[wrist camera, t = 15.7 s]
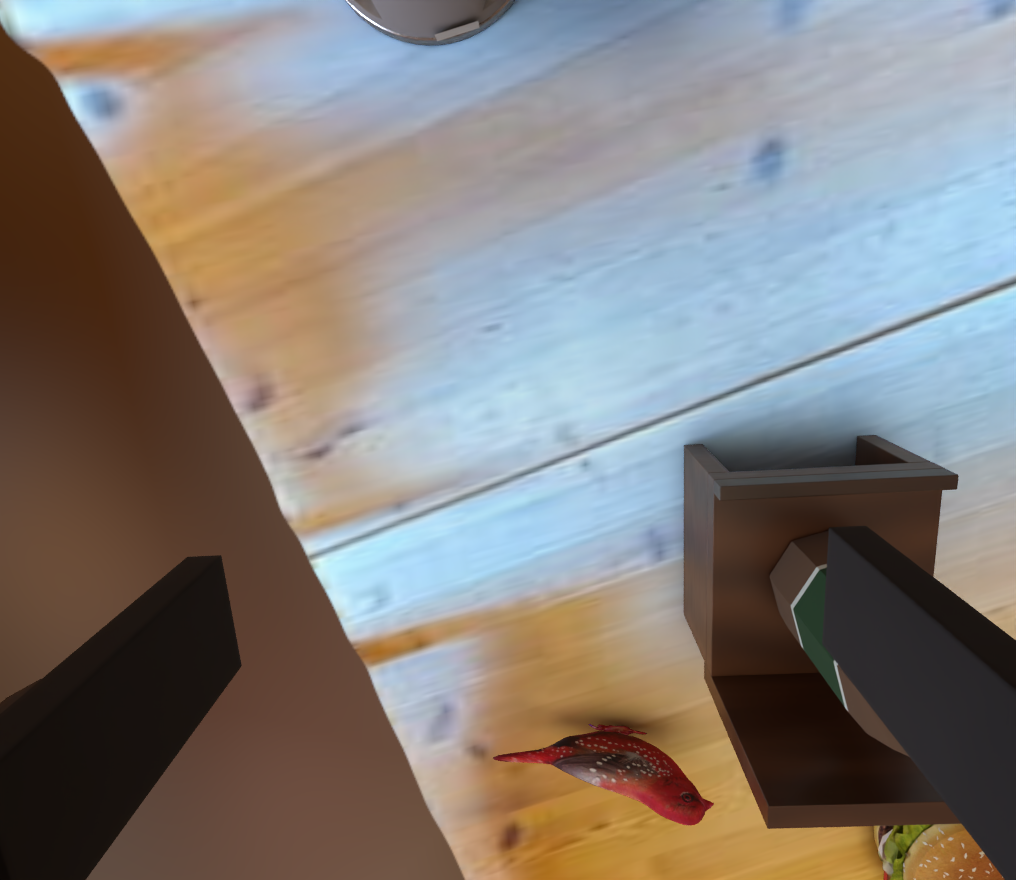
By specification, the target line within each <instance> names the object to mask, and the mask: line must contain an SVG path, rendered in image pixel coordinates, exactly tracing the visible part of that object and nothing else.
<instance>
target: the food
mask: <svg viewBox="0 0 1016 880" xmlns="http://www.w3.org/2000/svg"><path fill="white" fill-rule="evenodd" d="M874 839H875V842H876V845H877V848H878V853H879V857H880V860H881V861H882V862H883V869H884V880H1005V879H1004V878H1003V877H1002V875H1001V874H1000V873H999V872H998V870H997V869H996V868H995V866H994V865H993V864H992V863H991V861H990V860H989V859H988V857H987V856H986V855H985V853H984V852H983V851H982V850H981V848H980V847H979V846H978V844H977V843H976V842H975V841H974V839H973V838H972V837H971V835H970V834H969V833H968V832H967V830H966V829H965V828H964V826H963V825H962V824H933V825H892V826H874Z"/></svg>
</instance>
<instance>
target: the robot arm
mask: <svg viewBox="0 0 1016 880" xmlns="http://www.w3.org/2000/svg"><path fill="white" fill-rule="evenodd" d="M345 1H346V2H347V3H348V4H349V6H350V7H351V8H352V9H353V10H354V11H355V12H356V13H357V14H358V15H359V16H360V17H361V18H362V19H363V20H365V21H366V22H367V23H368V24H370V25H371V26H372V27H374V28H375V29H377V30H379V31H380V32H382V33H384V34H386V35H388V36H390V37H392V38H395V39H397V40H401V41H404V42H407V43H412V44H418V45H443V44H450V43H454V42H458V41H461V40H464V39H467V38H469V37H471V36H474V35H476V34H478V33H480V32H481V31H483V30H484V29H486V28H487V27H489V26H490V25H492V24H493V23H494V22H495V21H497V20H498V19H499V18H500V17H501V16H502V15H503V14H504V13H505V12H506V11H507V10H508V9H509V8H510V7H511V5H512V4H513V3H514V2H515V0H345ZM822 644H823V646H824V647H825V648H826V650H827V651H828V652H829V653H830V655H831V656H832V657H833V659H834V660H835V661H836V663H837V664H838V665H839V666H840V668H841V669H842V670H843V672H844V673H845V674H846V675H847V677H848V678H849V679H850V681H851V682H852V683H853V684H854V686H855V687H856V688H857V690H858V691H859V692H860V693H861V695H862V696H863V697H864V699H865V700H866V701H867V703H868V704H869V705H870V706H871V708H872V709H873V710H874V712H875V713H876V714H877V715H878V717H879V718H880V719H881V721H882V722H883V723H884V724H885V726H886V727H887V728H888V730H889V731H890V732H891V733H892V735H893V736H894V737H895V739H896V740H897V741H898V743H899V744H900V745H901V746H902V748H903V749H904V750H905V752H906V753H907V754H908V755H909V757H910V758H911V759H912V761H913V762H914V763H915V764H916V766H917V767H918V768H919V770H920V771H921V772H922V773H923V775H924V776H925V777H926V779H927V780H928V781H929V783H930V784H931V785H932V786H933V788H934V789H935V790H936V792H937V793H938V794H939V795H940V797H941V798H942V799H943V801H944V802H945V803H946V804H947V806H948V807H949V808H950V810H951V811H952V812H953V813H954V815H955V816H956V817H957V819H958V820H959V821H960V823H961V824H962V825H963V826H964V828H965V829H966V830H967V832H968V833H969V834H970V835H971V837H972V838H973V839H974V841H975V842H976V843H977V844H978V846H979V847H980V848H981V850H982V851H983V852H984V853H985V855H986V856H987V857H988V859H989V860H990V861H991V863H992V864H993V865H994V866H995V868H996V869H997V870H998V872H999V873H1000V874H1001V875H1002V877H1003V878H1004V879H1005V880H1016V640H1014V639H1013V638H1012V637H1011V636H1009V635H1008V634H1007V633H1005V632H1004V631H1003V630H1001V629H1000V628H999V627H998V626H996V625H995V624H994V623H992V622H991V621H990V620H988V619H987V618H986V617H985V616H983V615H982V614H981V613H979V612H978V611H977V610H975V609H974V608H973V607H971V606H970V605H969V604H968V603H966V602H965V601H964V600H962V599H961V598H960V597H958V596H957V595H956V594H955V593H953V592H952V591H951V590H949V589H948V588H947V587H945V586H944V585H943V584H942V583H940V582H939V581H938V580H936V579H935V578H934V577H932V576H931V575H930V574H928V573H927V572H926V571H925V570H923V569H922V568H921V567H919V566H918V565H917V564H915V563H914V562H913V561H912V560H910V559H909V558H908V557H906V556H905V555H904V554H902V553H901V552H900V551H899V550H897V549H896V548H895V547H893V546H892V545H891V544H889V543H888V542H887V541H885V540H884V539H883V538H882V537H880V536H879V535H878V534H876V533H875V532H874V531H872V530H871V529H870V528H869V527H867V526H848V527H829V536H828V553H827V570H826V586H825V603H824V620H823V637H822ZM240 667H241V660H240V655H239V650H238V644H237V639H236V633H235V628H234V623H233V617H232V611H231V607H230V601H229V595H228V590H227V584H226V579H225V573H224V569H223V563H222V557H221V556H198V557H187V558H186V559H184V560H183V561H182V562H181V563H180V564H178V565H177V566H176V567H175V568H174V569H172V570H171V571H170V572H169V573H168V574H167V575H165V576H164V577H163V578H162V579H161V580H159V581H158V582H157V583H156V584H155V585H153V586H152V587H151V588H150V589H149V590H147V591H146V592H145V593H144V594H143V595H141V596H140V597H139V598H138V599H137V600H135V601H134V602H133V603H132V604H131V605H130V606H128V607H127V608H126V609H125V610H124V611H122V612H121V613H120V614H119V615H118V616H116V617H115V618H114V619H113V620H112V621H110V622H109V623H108V624H107V625H106V626H105V627H103V628H102V629H101V630H100V631H99V632H97V633H96V634H95V635H94V636H93V637H91V638H90V639H89V640H88V641H87V642H85V643H84V644H83V645H82V646H81V647H80V648H78V649H77V650H76V651H75V652H74V653H72V654H71V655H70V656H69V657H68V658H66V659H65V660H64V661H63V662H62V663H60V664H59V665H58V666H57V667H56V668H54V669H53V670H52V671H51V672H50V673H48V674H47V675H46V676H45V677H44V678H43V679H40V680H38V681H36V682H34V683H32V684H31V685H29V686H27V687H25V688H24V689H22V690H20V691H18V692H16V693H15V694H13V695H11V696H9V697H7V698H6V699H5V700H4V701H2V702H1V703H0V880H86V878H87V877H88V876H89V874H90V873H91V871H92V870H93V869H94V867H95V866H96V865H97V863H98V862H99V861H100V859H101V858H102V857H103V855H104V854H105V852H106V851H107V850H108V848H109V847H110V846H111V844H112V843H113V841H114V840H115V839H116V837H117V836H118V835H119V833H120V832H121V831H122V829H123V828H124V826H125V825H126V824H127V822H128V821H129V819H130V818H131V817H132V815H133V814H134V813H135V811H136V810H137V809H138V807H139V806H140V804H141V803H142V802H143V800H144V799H145V798H146V796H147V795H148V793H149V792H150V791H151V789H152V788H153V787H154V785H155V784H156V783H157V781H158V780H159V778H160V777H161V776H162V774H163V773H164V772H165V770H166V769H167V767H168V766H169V765H170V763H171V762H172V761H173V759H174V758H175V756H176V755H177V754H178V752H179V751H180V750H181V748H182V747H183V745H184V744H185V743H186V741H187V740H188V738H189V737H190V736H191V734H192V733H193V732H194V730H195V729H196V728H197V726H198V725H199V723H200V722H201V721H202V719H203V718H204V717H205V715H206V714H207V713H208V711H209V710H210V708H211V707H212V706H213V704H214V703H215V702H216V700H217V699H218V697H219V696H220V695H221V693H222V692H223V691H224V689H225V688H226V687H227V685H228V683H229V682H230V681H231V680H232V678H233V677H234V676H235V674H236V673H237V671H238V670H239V669H240Z"/></svg>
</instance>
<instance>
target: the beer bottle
mask: <svg viewBox="0 0 1016 880" xmlns="http://www.w3.org/2000/svg"><path fill="white" fill-rule="evenodd" d="M828 536H829V531H825V532H822V533H818V534H815V535H811V536H808V537H805V538H801V539H798V540H794V541H792V542H791V543H790V545H789V546H788V548H787V549H786V551H785V552H784V554H783V556H782V557H781V559H780V560H779V562H778V563H777V565H776V566H775V568H774V569H773V571H772V572H771V574H770V580H771V584H772V588H773V591H774V595H775V599H776V603H777V606H778V610H779V613H780V615H781V617H782V618H783V620H784V622H785V624H786V625H787V627H788V628H789V630H790V631H791V633H792V634H793V635H794V637H795V638H796V640H797V641H798V642H799V644H800V645H801V647H802V648H803V649H804V651H805V652H806V654H807V655H808V656H809V658H810V659H811V661H812V662H813V663H814V665H815V666H816V668H817V669H818V670H819V672H820V673H821V675H822V676H823V677H824V679H825V680H826V682H827V683H828V684H829V686H830V687H831V689H832V690H833V691H834V693H835V694H836V696H837V697H838V698H839V700H840V701H841V703H842V704H843V705H844V707H845V708H846V710H847V711H848V712H849V714H850V715H851V716H852V717H853V718H854V719H855V720H856V722H857V723H858V724H859V725H860V726H861V727H862V728H863V730H864V731H865V732H866V733H867V734H868V735H870V736H872V737H873V738H875V739H877V740H878V741H880V742H882V743H883V744H885V745H886V746H888V747H890V748H891V749H893V750H895V751H898V752H900V753H902V754H904V755H906V756H908V757H909V755H908V754H907V753H906V752H905V750H904V749H903V748H902V746H901V745H900V744H899V743H898V741H897V740H896V739H895V737H894V736H893V735H892V733H891V732H890V731H889V730H888V728H887V727H886V726H885V724H884V723H883V722H882V721H881V719H880V718H879V717H878V715H877V714H876V713H875V712H874V710H873V709H872V708H871V706H870V705H869V704H868V703H867V701H866V700H865V699H864V697H863V696H862V695H861V693H860V692H859V691H858V690H857V688H856V687H855V686H854V684H853V683H852V682H851V681H850V679H849V678H848V677H847V675H846V674H845V673H844V672H843V670H842V669H841V668H840V666H839V665H838V664H837V663H836V661H835V660H834V659H833V657H832V656H831V655H830V653H829V652H828V651H827V650H826V648H825V647H824V646H823V644H822V637H823V620H824V603H825V586H826V570H827V553H828Z"/></svg>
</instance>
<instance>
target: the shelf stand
mask: <svg viewBox="0 0 1016 880" xmlns="http://www.w3.org/2000/svg"><path fill="white" fill-rule="evenodd" d="M957 484H958V475H957V474H955V473H953V472H951V471H949V470H947V469H945V468H943V467H941V466H939V465H937V464H935V463H933V462H930V461H928V460H926V459H924V458H922V457H920V456H918V455H916V454H914V453H912V452H910V451H907V450H905V449H903V448H901V447H899V446H897V445H895V444H893V443H891V442H889V441H887V440H885V439H883V438H881V437H878V436H876V435H869V436H857V447H856V461H855V466H839V467H819V468H799V469H779V470H760V471H740V472H729V471H728V470H727V469H726V468H725V467H724V466H723V465H722V464H721V462H720V461H719V460H718V459H717V458H716V457H715V456H714V455H713V454H712V453H711V452H710V451H709V450H708V449H707V448H706V447H705V446H704V445H703V444H696V445H684V616H685V618H686V620H687V622H688V625H689V627H690V629H691V631H692V634H693V636H694V638H695V640H696V643H697V645H698V647H699V649H700V652H701V654H702V656H703V659H704V661H705V662H704V679H705V681H706V684H707V686H708V688H709V691H710V693H711V695H712V698H713V700H714V703H715V705H716V707H717V710H718V712H719V714H720V717H721V719H722V721H723V724H724V726H725V729H726V731H727V733H728V736H729V738H730V740H731V743H732V745H733V748H734V750H735V752H736V755H737V757H738V759H739V762H740V764H741V766H742V769H743V771H744V774H745V776H746V778H747V781H748V783H749V785H750V788H751V790H752V793H753V795H754V797H755V800H756V802H757V804H758V807H759V809H760V811H761V814H762V816H763V819H764V821H765V823H766V826H767V828H768V829H771V828H811V827H852V826H892V825H933V824H961V823H960V821H959V820H958V819H957V817H956V816H955V815H954V813H953V812H952V811H951V810H950V808H949V807H948V806H947V804H946V803H945V802H944V801H943V799H942V798H941V797H940V795H939V794H938V793H937V792H936V790H935V789H934V788H933V786H932V785H931V784H930V783H929V781H928V780H927V779H926V777H925V776H924V775H923V773H922V772H921V771H920V770H919V768H918V767H917V766H916V764H915V763H914V762H913V761H912V759H911V758H910V757H908V756H906V755H904V754H902V753H900V752H898V751H895V750H893V749H891V748H890V747H888V746H886V745H885V744H883V743H882V742H880V741H878V740H877V739H875V738H873V737H872V736H870V735H868V734H867V733H866V732H865V731H864V730H863V728H862V727H861V726H860V725H859V724H858V723H857V722H856V720H855V719H854V718H853V717H852V716H851V715H850V714H849V712H848V711H847V710H846V708H845V707H844V705H843V704H842V703H841V701H840V700H839V698H838V697H837V696H836V694H835V693H834V691H833V690H832V689H831V687H830V686H829V684H828V683H827V682H826V680H825V679H824V677H823V676H822V675H821V673H820V672H819V670H818V669H817V668H816V666H815V665H814V663H813V662H812V661H811V659H810V658H809V656H808V655H807V654H806V652H805V651H804V649H803V648H802V647H801V645H800V644H799V642H798V641H797V640H796V638H795V637H794V635H793V634H792V633H791V631H790V630H789V628H788V627H787V625H786V624H785V622H784V620H783V618H782V617H781V615H780V613H779V610H778V606H777V603H776V599H775V595H774V591H773V588H772V584H771V580H770V574H771V572H772V571H773V569H774V568H775V566H776V565H777V563H778V562H779V560H780V559H781V557H782V556H783V554H784V552H785V551H786V549H787V548H788V546H789V545H790V543H791V542H792V541H794V540H798V539H801V538H805V537H808V536H811V535H815V534H818V533H822V532H825V531H829V527H848V526H867V527H869V528H870V529H871V530H872V531H874V532H875V533H876V534H878V535H879V536H880V537H882V538H883V539H884V540H885V541H887V542H888V543H889V544H891V545H892V546H893V547H895V548H896V549H897V550H899V551H900V552H901V553H902V554H904V555H905V556H906V557H908V558H909V559H910V560H912V561H913V562H914V563H915V564H917V565H918V566H919V567H921V568H922V569H923V570H925V571H926V572H927V573H928V574H930V575H931V576H932V577H933V575H934V565H935V555H936V545H937V536H938V526H939V516H940V506H941V497H942V490H954V489H957Z"/></svg>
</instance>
